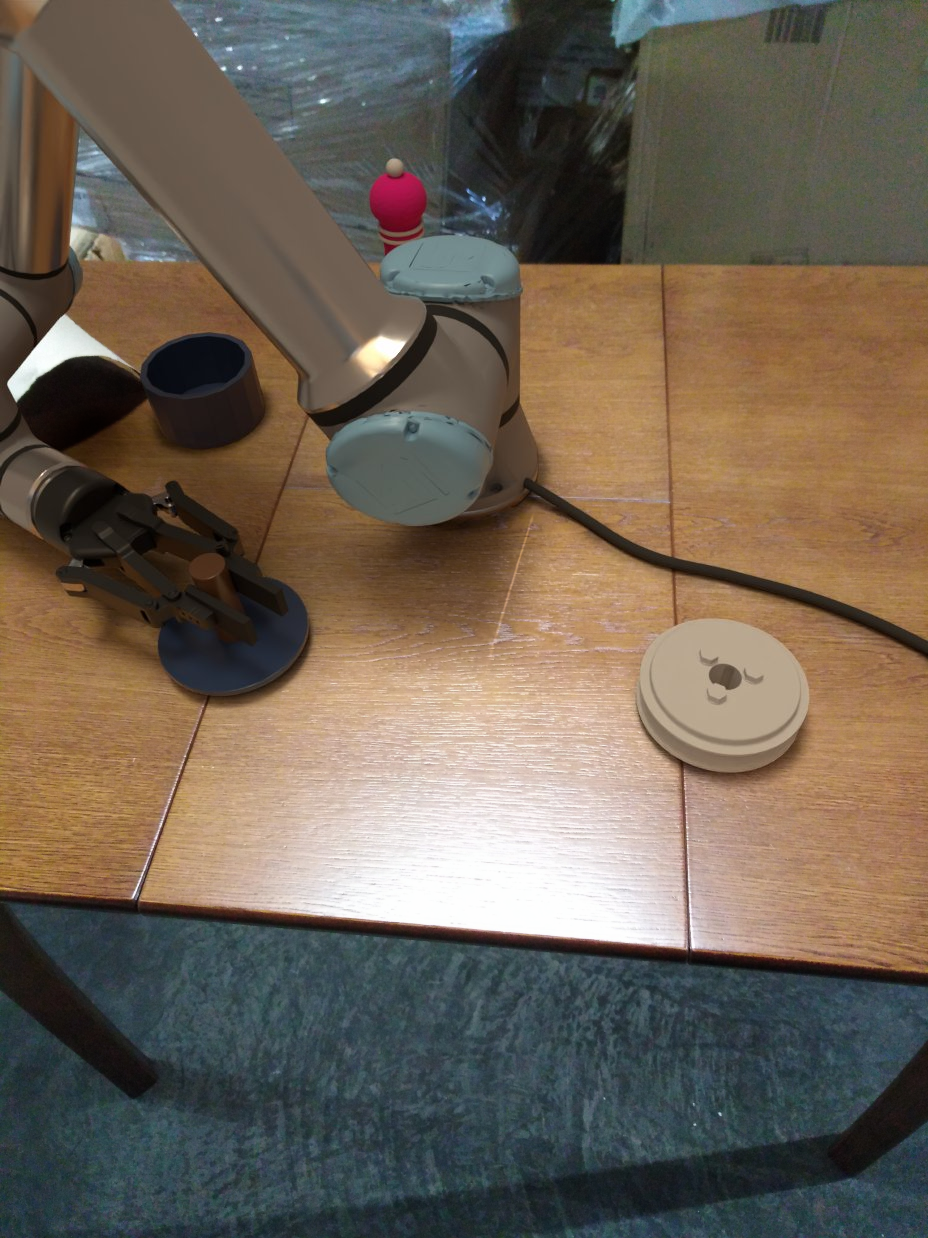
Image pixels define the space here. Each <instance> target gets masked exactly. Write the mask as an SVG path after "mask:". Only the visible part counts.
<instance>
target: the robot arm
mask: <svg viewBox="0 0 928 1238" xmlns="http://www.w3.org/2000/svg"><path fill="white" fill-rule="evenodd" d="M81 129H82V130H83V131H84V133H85V134H86V135H87V136H88V137H89V139H91V140H92V141H93V143H94V144H95V145H96V146H97V147H98V148H99V149H100V151H101V152H102V153H103V154H104V156H106V157H107V159H108V160H109V161H110V162H111V163H112V164H113V165H114V167H116V169H117V170H118V171H119V172H120V173H121V174H122V176H124V178H125V179H126V180H127V181H128V182H129V183H130V185H132V187H133V188H134V189H135V190H136V192H137V193H139V195H140V196H141V197H142V198H143V199H144V200H145V202H146V203H147V204H148V205H149V206H150V208H152V209H153V211H154V212H155V213H156V214H157V215H158V216H159V217H160V218H161V220H162V221H163V222H164V223H165V224H166V226H168V228H170V229H171V231H172V232H173V234H175V236H177V238H178V239H179V240H180V241H181V242H182V244H184V246H185V247H186V248H187V249H188V250H189V251H190V252H191V253H192V254H193V256H194V257H195V258H196V259H197V260H198V262H199V263H200V264H202V266H203V268H205V269H206V270H207V272H209V274H210V275H211V276H212V277H213V278H214V280H216V281H217V283H218V284H219V286H221V287H222V288H223V289H224V291H225V292H226V293H227V294H228V295H229V296H230V298H231V299H232V300H233V301H234V302H235V303H236V304H237V305H238V307H239V308H240V309H241V310H242V311H243V312H244V313H245V314H246V316H247V317H248V318H249V319H250V321H251V322H253V324H254V325H255V326H256V327H257V328H258V330H260V331H261V332H262V334H263V335H264V336H265V337H266V339H267V340H268V341H269V342H270V343H271V344H272V345H273V346H274V347H275V348H276V350H277V351H278V353H280V354H281V355H282V357H283V358H284V359H285V360H286V361H287V362H288V363H289V364H290V365H291V367H292V368H293V369H294V370H295V371H296V374H297V376H298V378H297V390H296V391H297V393H296V401H297V404H298V406H299V408H301V410H302V411H303V412H304V413H305V414H306V415H307V416H308V418H310V419H311V421H312V422H313V423H314V424H315V425H316V427H317V428H318V429H319V430H320V431H321V432H322V434H324V435H325V436H326V438H327V439H328V440H329V441H330V442H329V443H328V444H327V446H326V447H325V451H324V452H325V463H326V468H325V470H326V475H327V478H328V481H329V483H330V485H331V487H332V488H333V490H334V491H335V493H336V494H337V495H338V496H339V497H340V499H341V500H343V501H344V502H345V503H346V504H347V505H348V506H350V507H352V508H353V510H355V511H357V512H359V513H361V514H363V515H366V516H367V517H369V518H371V519H374V520H378V521H379V522H383V523H387V524H393V523H394V524H399V525H402V526H406V527H424V526H431V525H436V524H440V523H444V522H448V521H449V520H453V521H454V520H455V521H462V520H474V519H481V518H484V517H488V516H491V515H494V514H498V513H500V512H502V511H505V510H507V509H509V508H514V507H515V506H517V505H518V504H519V503H520V502H522V501H523V500H524V499H525V498H526V497H527V496H528V494H530V492H531V493H533V494H535V495H536V496H538V497H539V498H541V499H542V500H545V501H546V502H547V503H549V504H551V505H552V506H554V507H556V508H557V509H559V510H560V511H561V512H563V513H565V514H567V515H568V516H570V517H572V518H573V519H575V520H576V521H578V522H580V523H581V524H583V525H584V526H586V527H587V528H589V529H590V530H592V531H593V532H595V533H596V534H598V535H599V536H601V537H602V538H603V539H605V540H607V541H608V542H609V543H612V544H613V545H615V546H616V547H618V548H620V549H622V550H624V551H626V552H628V553H630V554H632V555H634V556H636V557H638V558H641V559H643V560H645V561H649V562H651V563H654V564H657V565H660V566H664V567H667V568H670V569H675V570H679V571H683V572H688V573H692V574H698V575H702V576H707V577H712V578H716V579H721V580H726V581H728V582H733V583H736V584H740V585H743V586H747V587H750V588H751V587H752V588H755V589H759V590H763V591H766V592H770V593H775V594H778V595H782V596H786V597H789V598H792V599H796V600H798V601H803V602H804V603H805V602H806V603H809V604H811V605H814V606H817V607H819V608H822V609H826V610H829V611H831V612H833V613H837V614H839V615H842V616H844V617H847V618H850V619H851V620H855V621H857V622H860V623H862V624H864V625H867V626H868V627H871V628H873V629H876V630H878V631H880V632H882V633H884V634H886V635H889V636H890V637H893V638H895V639H897V640H899V641H901V642H903V643H905V644H906V645H909V646H911V647H913V648H914V649H917V650H919V651H920V652H923V653H925V654H927V655H928V640H927V639H925V638H923V637H921V636H919V635H917V634H915V633H913V632H911V631H909V630H907V629H904V628H903V627H901V626H899V625H896V624H894V623H892V622H890V621H888V620H885V619H883V618H881V617H879V616H877V615H874V614H872V613H869V612H867V611H864V610H862V609H860V608H857V607H855V606H852V605H849V604H847V603H845V602H842V601H840V600H836V599H833V598H831V597H828V596H825V595H822V594H819V593H816V592H813V591H810V590H807V589H803V588H800V587H797V586H793V585H790V584H787V583H783V582H779V581H775V580H770V579H766V578H763V577H760V576H755V575H752V574H748V573H743V572H740V571H736V570H732V569H729V568H724V567H720V566H716V565H710V564H705V563H701V562H697V561H691V560H686V559H682V558H678V557H674V556H670V555H666V554H664V553H660V552H658V551H654V550H652V549H649V548H647V547H644V546H643V545H642V546H641V545H640V544H638V543H636V542H634V541H632V540H629V539H627V538H625V537H624V536H623V535H620V534H618V533H617V532H616V531H613V529H610V528H609V527H608V526H607V525H605V524H603V523H602V522H600V521H599V520H597V519H596V518H594V517H593V516H591V515H590V514H588V513H586V512H585V511H583V510H582V509H580V508H578V507H577V506H575V505H573V504H572V503H570V502H568V501H567V500H565V499H564V498H562V497H561V496H559V495H558V494H556V493H554V492H552V491H551V490H550V489H548V488H546V487H544V486H543V485H541V484H539V483H537V477H538V472H539V454H538V448H537V447H538V446H537V443H536V440H535V437H534V434H533V432H532V430H531V427H530V424H529V422H528V419H527V417H526V414H525V412H524V409H523V407H522V404H521V295H523V293H524V287H523V285H522V281H521V279H522V278H521V269H520V268H521V267H520V264H519V261H518V259H517V257H516V256H515V255H514V253H513V252H512V251H510V249H508V247H505V246H504V245H501V244H499V243H496V242H495V241H493V240H490V239H487V238H483V237H477V236H471V235H459V234H446V235H445V234H443V235H434V236H426V237H422V238H421V239H417V240H413V241H410V242H407V243H404V244H402V245H400V246H398V247H396V248H395V249H393V250H392V251H390V252H389V253H388V254H387V255H386V256H385V255H384V258H382V261H381V262H380V266H379V277H378V276H377V275H376V273H375V272H374V270H372V268H371V267H370V265H369V264H368V263H367V261H366V260H365V259H364V257H363V256H362V254H360V252H359V251H358V250H357V248H356V247H355V245H354V244H353V243H352V242H351V240H350V239H349V237H348V236H347V235H346V234H345V232H344V230H343V229H342V228H341V227H340V225H339V224H338V223H337V222H336V220H335V219H334V217H333V215H332V214H330V212H329V211H328V210H327V208H326V207H325V205H324V204H323V203H322V202H321V200H320V199H319V198H318V196H317V195H316V194H315V192H314V191H313V190H312V188H311V187H310V185H309V184H308V183H307V181H306V180H305V179H304V178H303V176H302V175H301V174H300V172H299V171H298V170H297V168H296V166H294V164H293V163H292V162H291V161H290V159H289V158H288V156H287V155H286V154H285V152H284V151H283V150H282V148H281V147H280V146H279V145H278V143H277V142H276V140H275V139H274V138H273V136H272V135H271V134H270V133H269V131H268V130H267V128H266V127H265V126H264V125H263V124H262V122H261V120H260V119H259V118H258V116H257V115H256V114H255V112H254V111H253V110H252V109H251V106H249V105H248V103H247V102H246V100H245V99H244V98H243V97H242V95H241V94H240V92H239V91H238V90H237V89H236V88H235V86H234V85H233V84H232V82H231V81H230V80H229V78H228V77H227V75H226V74H225V73H224V71H223V70H222V69H221V68H220V66H219V65H218V64H217V62H216V61H215V60H214V58H213V57H212V55H211V54H210V52H208V50H207V49H206V48H205V46H204V45H203V43H202V42H201V41H200V40H199V38H198V36H196V34H195V33H194V31H193V30H192V29H191V27H189V25H188V23H187V22H186V21H185V19H184V18H183V17H182V16H181V14H180V13H179V11H178V10H177V9H176V8H175V6H174V5H173V4H172V2H171V1H170V0H0V515H1V516H3V518H4V517H5V518H6V519H8V520H10V521H11V522H12V523H14V524H16V525H17V526H19V527H20V528H22V529H24V530H26V531H27V532H29V533H31V534H32V535H34V536H36V537H37V538H39V539H41V540H43V541H44V542H46V543H47V544H48V545H50V546H52V547H53V548H55V549H56V550H58V551H60V552H62V553H63V554H65V555H66V556H69V557H70V558H71V560H70V562H69V564H68V565H62V566H59V567H58V568H57V569H56V570H55V573H54V574H55V576H56V577H57V579H58V581H59V583H60V584H61V586H62V587H63V589H64V591H65V593H66V594H67V595H68V596H69V597H75V598H85V599H91V600H93V601H96V602H97V603H99V604H102V605H104V606H106V607H109V608H110V609H112V610H115V611H117V612H119V613H120V614H123V615H125V616H128V617H130V618H132V619H134V620H136V621H137V622H140V623H143V624H145V625H146V626H149V627H151V628H153V629H155V630H160V629H161V628H162V627H164V626H165V625H166V623H167V620H168V619H170V618H172V617H176V618H177V620H178V622H179V623H186V622H188V621H189V622H191V623H193V624H195V625H196V626H198V627H199V628H201V629H203V630H207V631H210V630H212V629H213V628H214V627H215V626H218V627H220V628H221V629H223V630H225V631H226V632H228V633H230V634H231V635H233V636H235V637H237V638H238V639H240V640H242V641H243V642H245V643H247V644H248V645H250V646H253V645H254V644H255V643H256V642H257V641H259V639H258V637H257V634H256V631H255V629H254V626H253V623H252V621H251V618H249V617H248V616H246V615H244V614H242V613H241V612H239V611H237V610H235V609H234V608H232V607H230V606H228V605H227V604H225V603H223V602H221V601H220V600H218V599H216V598H214V597H213V596H211V595H209V594H208V593H206V592H204V591H202V590H200V589H198V588H197V587H195V584H192V583H189V584H188V585H186V586H185V587H184V588H183V589H182V591H183V592H182V591H181V588H180V587H179V586H178V585H177V584H175V583H174V582H173V581H172V580H171V579H170V578H168V577H167V576H166V575H164V574H163V573H162V572H161V571H160V570H159V569H158V568H156V567H155V566H154V565H152V564H151V563H150V562H149V561H148V560H147V559H146V558H144V557H143V556H144V554H146V553H148V552H150V551H153V552H155V553H158V554H161V555H166V554H169V555H172V556H175V557H177V558H180V559H183V560H185V561H188V562H190V563H191V562H192V561H193V560H194V559H195V558H196V557H198V556H200V555H202V554H206V553H216V554H219V555H221V556H222V557H223V558H224V560H225V562H226V565H227V568H228V570H229V573H230V575H231V578H232V581H233V583H234V586H235V589H236V591H237V592H239V593H241V594H243V595H244V596H246V597H248V598H250V599H252V600H253V601H255V602H257V603H259V604H260V605H262V606H264V607H266V608H268V609H269V610H271V611H273V612H275V613H276V614H278V615H280V616H282V617H283V616H284V615H285V614H286V613H287V612H288V611H289V609H288V606H287V603H286V600H285V597H284V594H283V590H282V588H280V587H278V586H276V585H275V584H273V583H271V582H269V581H267V580H265V579H264V578H263V576H264V575H263V573H262V569H261V568H260V567H259V565H258V564H256V563H254V562H253V561H251V560H248V559H247V558H245V557H244V556H245V553H246V549H245V547H244V543H243V542H242V537H241V535H240V532H239V530H238V529H237V528H236V527H234V526H233V525H232V524H230V523H229V522H227V521H226V520H225V519H222V517H220V516H218V515H217V514H215V513H214V512H213V511H211V510H209V509H208V508H206V507H205V506H203V505H202V504H200V503H199V502H197V501H196V500H195V499H193V498H191V497H190V496H189V495H187V494H185V492H184V490H183V488H182V487H181V485H180V483H179V482H178V480H169V481H167V482H166V484H165V485H164V488H165V491H163V492H161V493H158V494H155V495H153V496H150V495H149V494H146V493H142V492H132V491H130V490H129V489H128V488H126V486H124V485H122V484H121V483H120V482H117V480H115V479H112V478H110V477H108V476H106V475H105V474H103V473H101V472H99V471H98V470H96V469H94V468H91V467H90V466H88V465H87V464H85V463H83V462H81V461H80V460H77V459H75V458H73V457H71V456H69V455H67V454H65V453H63V452H61V451H60V450H58V449H57V448H54V447H52V446H50V445H48V444H47V443H45V442H44V441H42V440H40V439H39V438H37V437H36V436H35V435H34V434H33V432H32V431H31V429H30V427H29V425H28V423H27V421H26V420H25V418H24V416H23V413H22V411H21V409H20V406H19V405H18V403H17V401H16V399H15V397H14V395H13V393H12V391H11V389H10V387H9V385H8V383H9V381H10V379H11V378H12V377H13V376H14V375H15V374H16V373H17V372H18V370H19V369H20V368H21V366H22V365H23V364H24V363H25V361H26V360H27V359H28V358H29V356H30V355H31V353H32V352H33V351H34V350H35V349H36V348H37V347H38V345H39V344H40V343H41V342H42V341H43V339H44V338H45V337H46V336H47V334H48V333H50V331H51V330H52V329H53V327H54V326H55V325H56V324H57V322H59V320H60V319H61V318H62V317H64V316H65V315H66V313H68V312H69V310H70V309H71V308H72V306H73V304H74V300H75V298H76V297H77V295H78V294H79V292H80V291H81V289H82V285H83V282H84V271H83V267H82V265H81V264H80V262H79V260H78V255H77V254H76V252H75V250H74V248H73V247H72V246H71V233H72V222H73V212H74V202H75V201H74V200H75V199H74V198H75V190H76V189H75V188H76V176H77V168H78V167H77V166H78V156H79V143H80V132H81ZM158 512H165V513H166V514H167V515H170V516H171V518H174V519H175V518H179V519H178V520H180V521H181V523H183V524H184V525H185V526H187V527H188V528H189V529H191V530H193V531H194V532H192V531H190V530H188V529H184V528H181V527H179V526H176V525H173V524H171V523H168V522H166V521H165V520H164V519H163V518H162V517H161V516H159V515H158ZM99 569H118V570H119V571H120V572H121V573H122V574H123V575H125V576H126V577H127V578H128V579H129V580H131V581H134V582H135V583H136V584H138V585H139V587H141V588H142V589H143V590H145V592H146V593H145V592H142V591H140V590H138V589H136V588H134V587H132V586H129V585H127V584H125V583H123V582H122V581H118V580H117V579H114V578H112V577H110V576H108V575H105V574H103V573H100V571H99V572H98V571H97V570H99Z"/></svg>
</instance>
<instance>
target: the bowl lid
mask: <svg viewBox="0 0 928 1238" xmlns="http://www.w3.org/2000/svg"><path fill="white" fill-rule="evenodd" d="M188 572H189V575H190V577H191V580H192V583H193V585H194V586H195V587H197V588H198V589H200V590H202V591H204V592H206V593H208V594H209V595H211V596H213V597H214V598H216V599H218V600H220V601H221V602H223V603H225V604H227V605H228V606H230V607H232V608H234V609H235V610H237V611H239V612H241V613H242V614H244V615H246V616H248V617H249V618H251V621H252V623H253V626H254V629H255V631H256V634H257V637H258V639H259V641H257V642H256V643H255V644H254V645H253V646H250V645H248V644H247V643H245V642H243V641H242V640H240V639H238V638H237V637H235V636H233V635H231V634H230V633H228V632H226V631H225V630H223V629H221V628H220V627H218V626H215V627H214V628H213V629H212V630H210V631H207V630H203V629H201V628H199V627H198V626H196V625H195V624H193V623H191V622H189V621H188V622H186V623H179V622H178V620H177V618H176V617H172V618H170V619H168V620H167V623H166V625H165V626H164V627H162V628H160V629H159V632H158V639H157V653H158V658H159V660H160V663H161V665H162V667H163V669H164V672H166V674H167V675H168V676H169V677H170V678H171V680H172V681H173V682H175V683H176V684H177V685H179V686H181V687H182V688H184V689H186V690H188V691H191V692H193V693H196V694H198V695H199V694H200V695H202V696H203V695H204V696H212V697H227V696H235V695H240V694H244V693H245V694H246V693H248V692H251V691H254V690H256V689H259V688H261V687H264V686H266V685H268V684H269V683H271V682H273V681H274V680H276V679H277V678H279V677H281V675H282V674H284V673H285V672H287V670H289V669H290V668H291V667H292V665H293V664H294V663H295V662H296V660H298V658H299V657H300V655H301V653H302V652H303V649H304V648H305V645H306V643H307V640H308V636H309V629H310V621H309V614H308V612H307V609H306V605H305V603H304V601H303V600H302V598H301V597H300V595H299V594H298V592H296V591H295V590H294V589H293V588H292V587H290V586H289V585H288V584H286V583H284V582H282V581H280V580H279V579H276V578H273V577H271V576H265V575H262V576H263V578H264V579H265V580H267V581H269V582H271V583H273V584H275V585H276V586H278V587H280V588H282V590H283V594H284V597H285V600H286V603H287V606H288V609H289V611H288V612H287V613H286V614H285V615H284V616H283V617H282V616H280V615H278V614H276V613H275V612H273V611H271V610H269V609H268V608H266V607H264V606H262V605H260V604H259V603H257V602H255V601H253V600H252V599H250V598H248V597H246V596H244V595H243V594H241V593H239V592H237V591H236V589H235V586H234V583H233V581H232V578H231V575H230V573H229V570H228V568H227V565H226V562H225V560H224V558H223V557H222V556H221V555H219V554H216V553H206V554H202V555H200V556H198V557H196V558H195V559H194V560H193V561H192V562H190V564H189V566H188Z"/></svg>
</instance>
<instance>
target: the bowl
mask: <svg viewBox="0 0 928 1238" xmlns="http://www.w3.org/2000/svg"><path fill="white" fill-rule="evenodd" d="M254 360H255V359H254V357H253V353H252V351H251V349H250V348H249V347H248V344H246V343H245V341H244V340H242V339H240V338H238V337H236V336H234V335H231V334H228V333H221V332H212V331H207V332H206V331H205V332H198V333H188V334H186V335H183V336H179V337H177V338H174V339H170V340H168V341H166V342H165V343H163V344H161V345H160V346H158V347H157V348H155V349H154V350H152V351H151V352H150V354H149V355H148V356H147V357H146V358H145V360H144V361H143V362H142V364H141V366H140V367H141V368H140V372H139V374H140V375H139V380H140V382H141V385H142V387H143V390H144V393H145V395H146V398H147V400H148V403H149V405H150V408H151V411H152V413H153V416H154V418H155V422H156V424H157V425H158V427H159V429H160V431H161V434H162V436H164V438H165V439H166V440H167V441H169V442H171V444H172V443H173V444H174V445H176V446H179V447H182V448H187V449H193V450H206V449H214V448H215V449H216V448H219V447H222V446H223V447H224V446H227V445H229V444H232V443H235V442H237V441H239V440H241V439H243V438H244V437H246V436H247V435H249V434H250V433H252V432H253V431H254V430H255V429H256V428H257V427H258V425H259V424H260V423H261V422H262V419H263V418H264V414H265V409H266V407H265V400H264V399H265V398H264V394H263V391H262V390H263V389H262V386H261V383H260V379H259V376H258V375H259V374H258V371H257V368H256V365H255V361H254Z"/></svg>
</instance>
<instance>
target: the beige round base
mask: <svg viewBox="0 0 928 1238" xmlns="http://www.w3.org/2000/svg"><path fill="white" fill-rule="evenodd" d="M635 698H636V699H635V700H636V701H635V702H636V707H637V711H638V714H639V716H640V719H641V722H642V724H643V725H644V727H645V729H646V731H647V732H648V733H649V735H650V736H651V738H652V739H654V741H655V742H657V744H658V745H660V747H661V748H662V749H664V750H665V751H667V752H668V753H669V754H671V755H672V756H673V757H675V758H677V759H679V760H680V761H682V762H684V763H687V764H689V765H691V766H693V767H695V768H700V769H702V770H707V771H712V772H716V773H717V772H719V773H743V772H748V771H754V770H757V769H760V768H763V767H765V766H767V765H769V764H771V763H773V762H775V761H776V760H778V759H779V758H781V757H782V756H783V755H785V753H786V752H787V751H788V750H789V749H790V747H791V746H792V745H793V743H794V742H795V740H796V738H797V735H798V733H799V732H800V728H801V727H802V725H803V723H804V721H805V719H806V718H807V717H806V716H807V713H808V710H809V705H810V688H809V682H808V678H807V676H806V674H805V671H804V669H803V668H802V666H801V663H800V662H799V661H798V660H797V658H796V657H795V655H794V654H793V653H792V652H791V651H790V649H788V648H787V646H785V644H783V643H781V642H780V641H779V640H778V639H777V638H776V637H774V636H772V635H771V634H769V633H768V632H766V631H764V630H762V629H760V628H758V627H755V626H753V625H750V624H748V623H745V622H741V621H737V620H732V619H727V618H725V619H724V618H715V617H714V618H713V617H712V618H711V617H710V618H698V619H691V620H687V621H684V622H682V623H679V624H676V625H673V626H671V627H670V628H668V629H666V630H665V631H663V632H662V633H660V634H659V636H657V637H656V638H655V639H654V640H653V641H652V642H651V643H650V644H649V646H648V648H647V649H646V651H645V652H644V655H643V657H642V659H641V662H640V667H639V674H638V680H637V683H636V691H635Z"/></svg>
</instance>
